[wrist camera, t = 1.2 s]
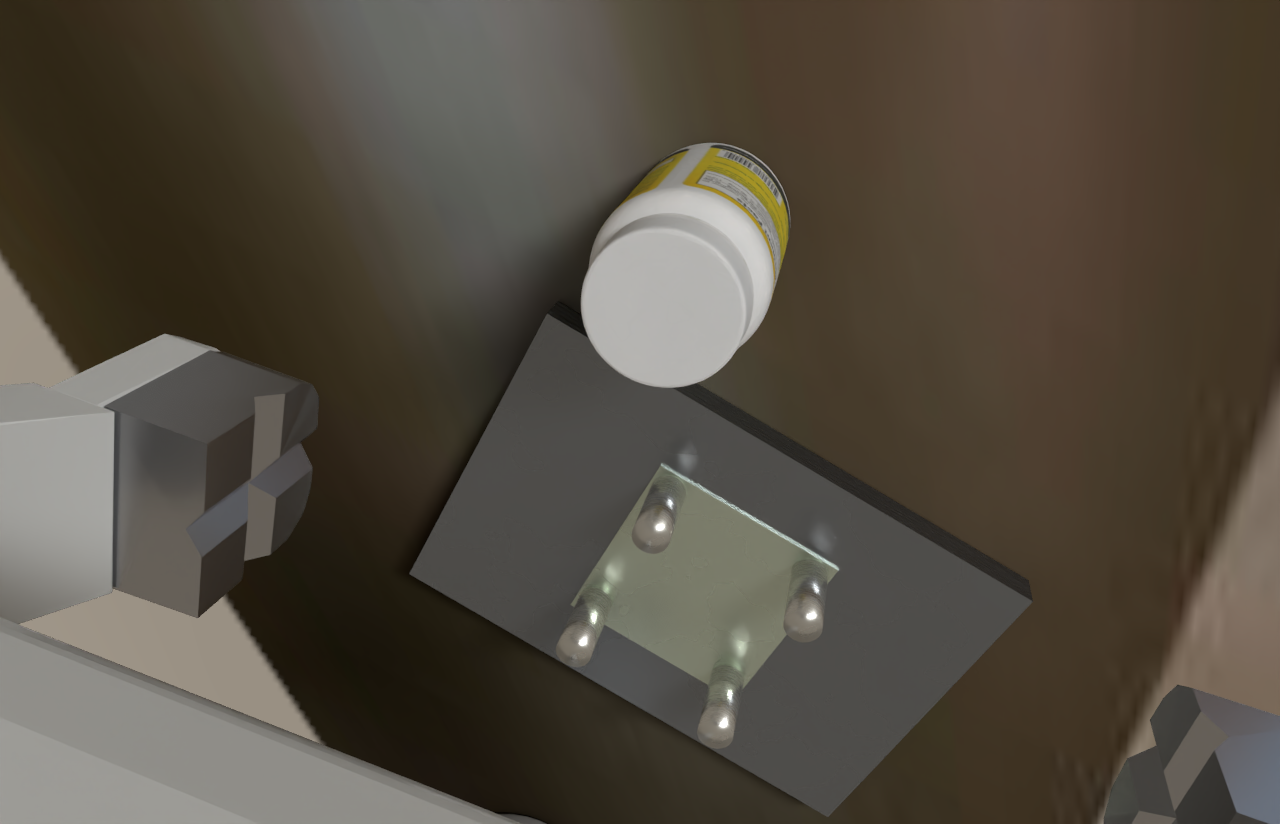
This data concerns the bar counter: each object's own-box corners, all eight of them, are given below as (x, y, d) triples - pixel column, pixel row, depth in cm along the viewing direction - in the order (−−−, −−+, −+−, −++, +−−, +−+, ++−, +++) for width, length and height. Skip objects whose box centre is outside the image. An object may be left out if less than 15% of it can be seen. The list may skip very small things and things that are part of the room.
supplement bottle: (644, 295, 34) (573, 404, 26) (628, 145, 32) (547, 216, 24) (796, 291, 32) (767, 403, 25) (790, 135, 30) (756, 206, 23)
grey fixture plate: (421, 556, 40) (373, 622, 36) (557, 301, 34) (517, 348, 30) (829, 793, 40) (823, 882, 37) (1028, 580, 35) (1044, 660, 31)
